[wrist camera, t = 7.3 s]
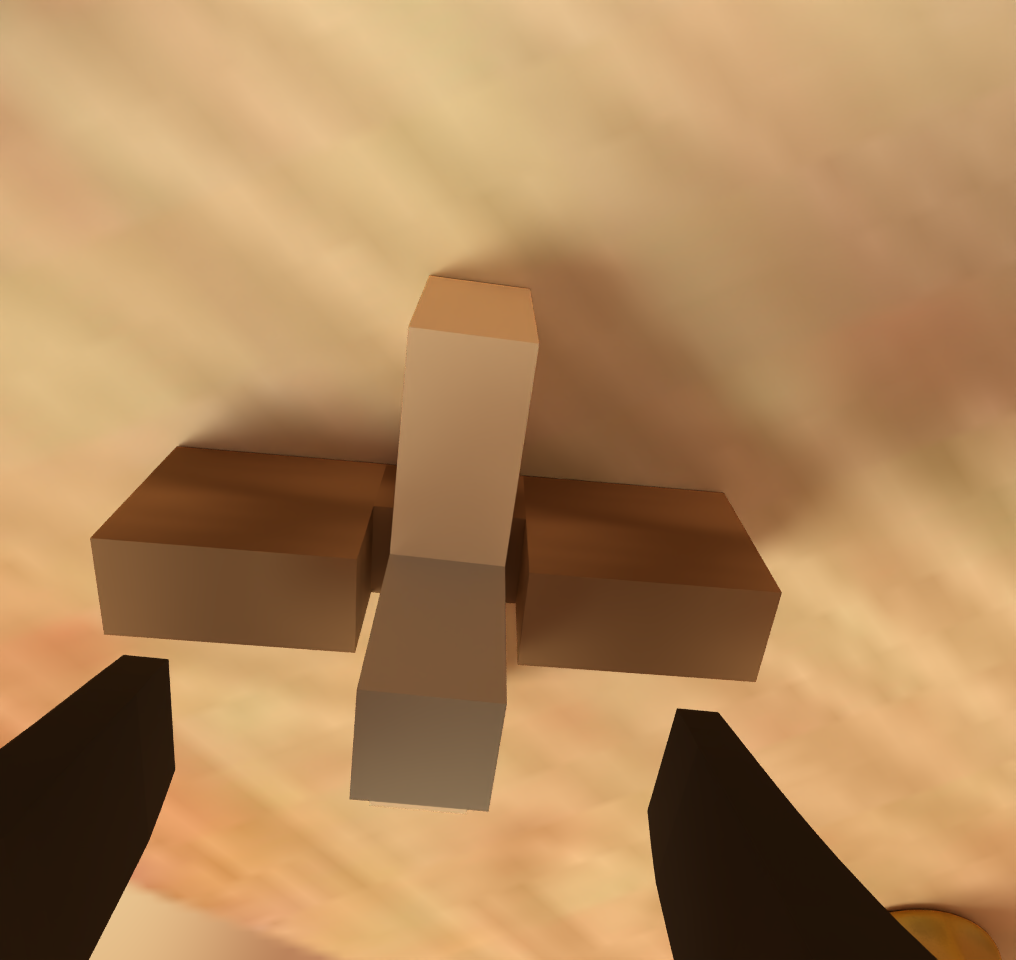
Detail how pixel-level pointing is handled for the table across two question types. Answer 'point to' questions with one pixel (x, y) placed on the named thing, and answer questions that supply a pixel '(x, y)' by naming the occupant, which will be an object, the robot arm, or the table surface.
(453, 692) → the burr puzzle piece
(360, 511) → the walnut slotted plate
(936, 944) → the vase
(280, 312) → the table surface
